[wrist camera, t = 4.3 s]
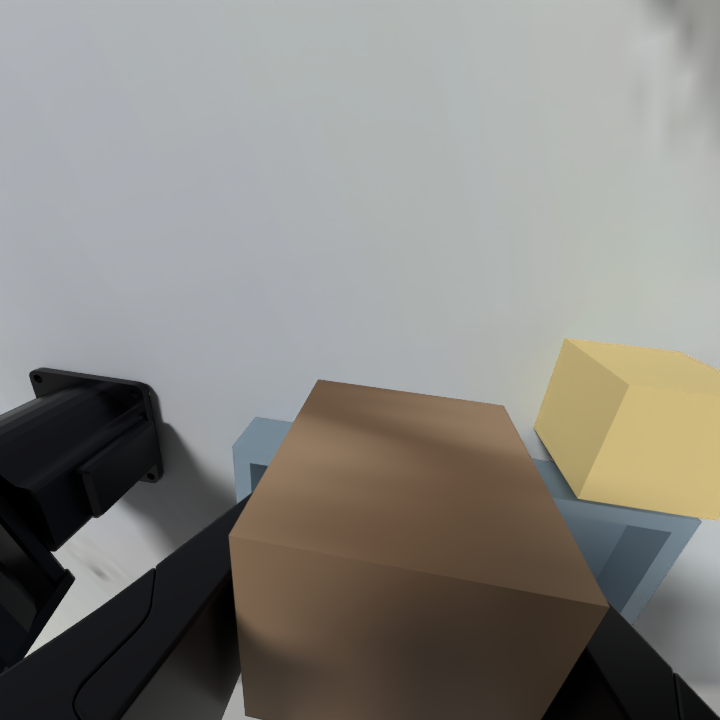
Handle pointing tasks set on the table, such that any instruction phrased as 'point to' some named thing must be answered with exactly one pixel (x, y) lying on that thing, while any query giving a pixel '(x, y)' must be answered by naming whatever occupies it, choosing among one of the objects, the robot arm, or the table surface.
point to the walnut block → (406, 567)
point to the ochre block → (635, 427)
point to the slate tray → (583, 517)
